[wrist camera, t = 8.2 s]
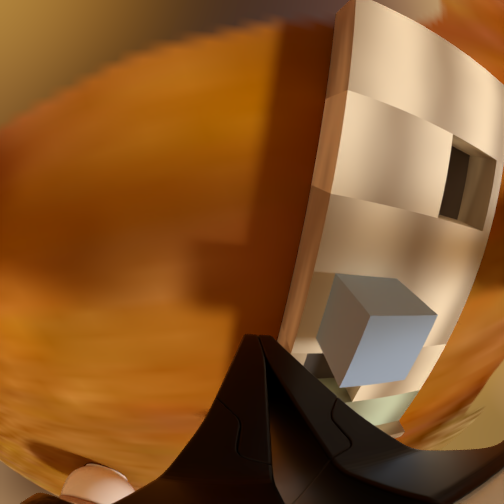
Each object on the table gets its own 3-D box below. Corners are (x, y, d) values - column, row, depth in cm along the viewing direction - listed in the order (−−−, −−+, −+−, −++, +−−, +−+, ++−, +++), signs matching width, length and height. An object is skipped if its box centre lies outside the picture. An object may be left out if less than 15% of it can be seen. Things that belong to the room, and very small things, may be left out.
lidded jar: (57, 457, 24) (43, 507, 15) (96, 450, 23) (81, 514, 14) (114, 490, 28) (107, 536, 19) (159, 485, 27) (156, 541, 18)
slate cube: (396, 278, 15) (437, 315, 11) (374, 337, 16) (404, 379, 12) (335, 273, 14) (370, 315, 10) (315, 337, 15) (339, 387, 12)
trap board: (480, 89, 14) (521, 88, 9) (383, 404, 24) (400, 436, 19) (335, 14, 12) (368, -18, 7) (256, 415, 22) (263, 458, 17)
